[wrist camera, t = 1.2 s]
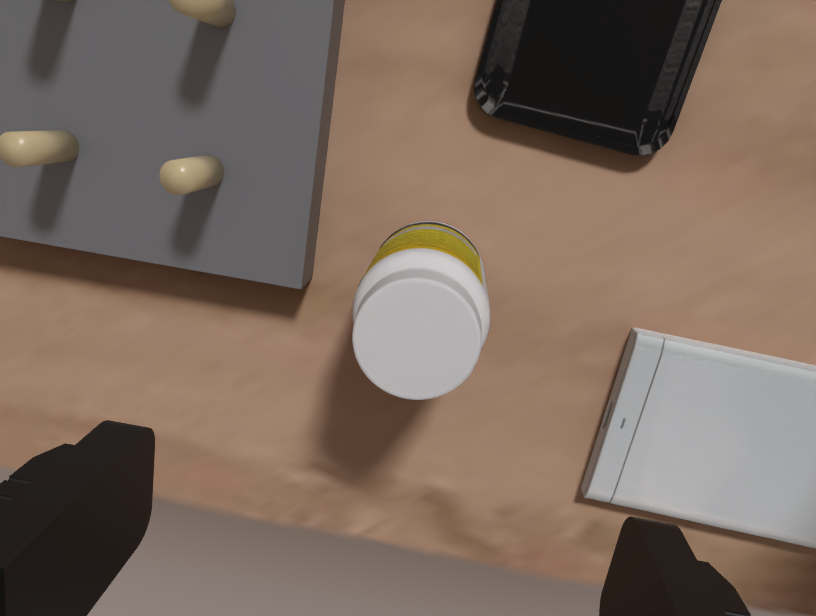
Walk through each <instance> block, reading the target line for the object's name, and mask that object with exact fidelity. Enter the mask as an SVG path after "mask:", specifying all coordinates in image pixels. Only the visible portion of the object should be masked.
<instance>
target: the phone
mask: <svg viewBox="0 0 816 616" xmlns="http://www.w3.org/2000/svg"><path fill="white" fill-rule="evenodd" d="M721 1H722V0H497V3H496V7H495V10H494V14H493V18H492V21H491V25H490V29H489V32H488V36H487V40H486V43H485V47H484V51H483V54H482V58H481V62H480V65H479V69H478V73H477V76H476V80H475V88H474V91H475V97H476V100H477V102H478V104H479V106H480V108H481V109H482V110H483V111H484V112H486V113H487V114H488V115H490V116H493V117H495V118H498V119H502V120H505V121H509V122H513V123H516V124H520V125H524V126H527V127H531V128H535V129H539V130H542V131H546V132H550V133H553V134H557V135H561V136H564V137H568V138H572V139H576V140H579V141H583V142H587V143H590V144H594V145H598V146H601V147H605V148H609V149H613V150H616V151H620V152H624V153H627V154H632V155H641V156H642V155H647V154H652V153H654V152H655V151H657V150H659V149H661V148H662V147H663V146H664V145H665V144H666V143H667V142H668V140H669V138H670V137H671V135H672V133H673V131H674V128H675V125H676V122H677V120H678V117H679V114H680V112H681V109H682V106H683V104H684V101H685V98H686V95H687V93H688V90H689V87H690V85H691V82H692V79H693V77H694V74H695V71H696V68H697V66H698V63H699V60H700V58H701V55H702V52H703V50H704V47H705V44H706V41H707V39H708V36H709V33H710V31H711V28H712V25H713V22H714V20H715V17H716V14H717V12H718V9H719V6H720V4H721Z"/></svg>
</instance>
